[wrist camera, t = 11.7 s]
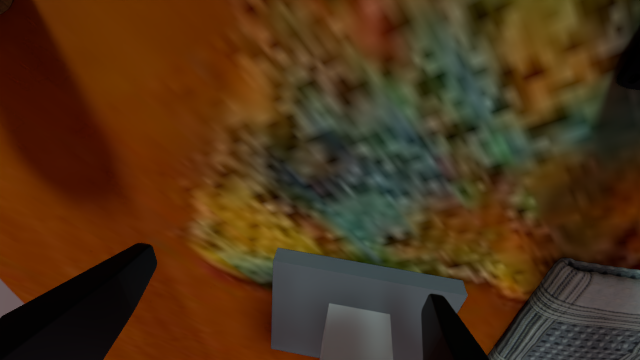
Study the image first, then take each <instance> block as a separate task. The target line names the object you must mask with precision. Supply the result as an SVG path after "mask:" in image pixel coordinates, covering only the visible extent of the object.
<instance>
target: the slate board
mask: <svg viewBox="0 0 640 360" xmlns="http://www.w3.org/2000/svg"><path fill="white" fill-rule="evenodd" d="M431 293H432V294H438V295H442V296H444V297H445V298H446V299H447V301H448V302H449V304H450V305H451V306H452V308H453V309H454V310H455V312H456V313H457V312H458V311H459V309H460V307H461V306H462V304H463V302H464V301H465V299H466V297H467V293H466V290H465V287H464V284H463V281H462V280H456V279H450V278H445V277H439V276H434V275H428V274H422V273H417V272H411V271H405V270H400V269H394V268H388V267H383V266H377V265H371V264H366V263H360V262H355V261H349V260H343V259H338V258H332V257H326V256H321V255H315V254H309V253H304V252H298V251H292V250H287V249H281V248H278V249H277V252H276V255H275V257H274V260H273V292H272V333H271V349H276V350H281V351H286V352H291V353H297V354H302V355H307V356H312V357H317V358H320V354H321V347H322V339H323V333H324V328H325V323H326V317H327V312H328V307H329V303H331V304H336V305H342V306H347V307H353V308H358V309H364V310H369V311H375V312H380V313H385V314H390V320H391V335H392V350H393V360H423V348H422V326H421V311H422V308H423V306H424V304H425V301H426V299H427V297H428V295H429V294H431Z"/></svg>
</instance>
